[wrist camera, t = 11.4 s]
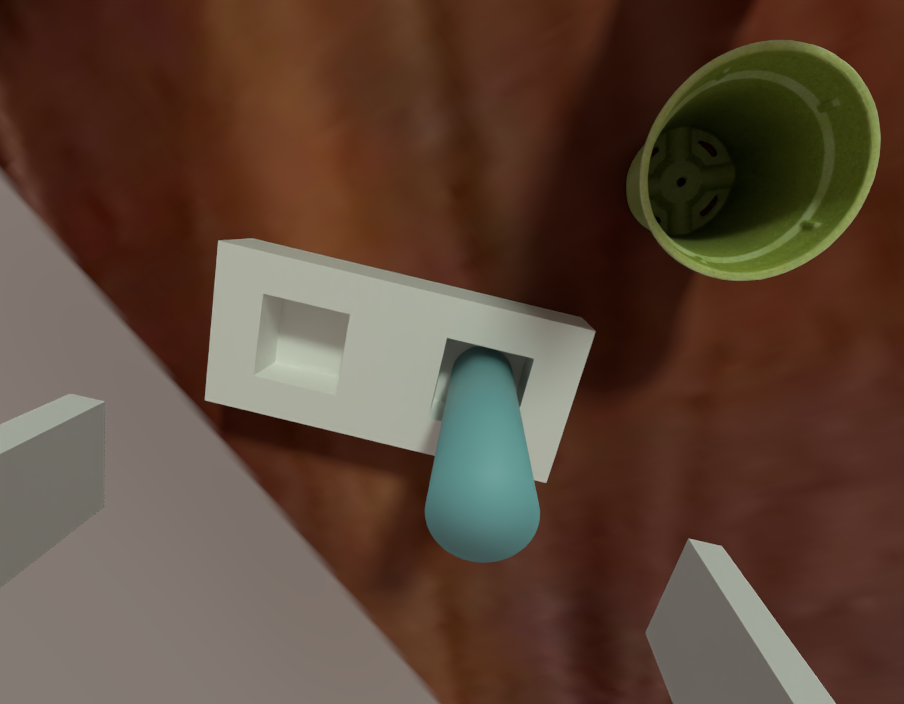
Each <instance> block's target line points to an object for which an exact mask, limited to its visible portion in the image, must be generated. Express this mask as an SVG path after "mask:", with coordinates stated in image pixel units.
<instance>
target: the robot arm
mask: <svg viewBox="0 0 904 704" xmlns="http://www.w3.org/2000/svg"><path fill="white" fill-rule="evenodd" d="M104 438H105V402H104V401H100V400H96V399H92V398H87V397H83V396H78V395H74V394H68V395H66V396H64V397H61V398H59V399H57V400H55V401H52V402H50V403H48V404H45V405H43V406H41V407H39V408H36V409H34V410H32V411H29V412H27V413H25V414H23V415H21V416H18V417H16V418H14V419H11V420H9V421H7V422H4V423H2V424H0V588H1V587H2V586H4V585H5V584H6V583H7V582H9V581H10V580H11V579H12V578H14V577H15V576H16V575H18V574H19V573H20V572H21V571H23V570H24V569H25V568H26V567H28V566H29V565H30V564H32V563H33V562H34V561H36V560H37V559H38V558H39V557H40V556H42V555H43V554H45V553H46V552H47V551H48V550H50V549H51V548H52V547H54V546H55V545H56V544H57V543H59V542H60V541H61V540H62V539H64V538H65V537H66V536H68V535H69V534H70V533H71V532H73V531H74V530H75V529H77V528H78V527H79V526H80V525H82V524H83V523H84V522H85V521H87V520H88V519H89V518H91V517H92V516H93V515H95V514H96V513H97V512H98V511H99V510H101V509H102V508H103V507H104V444H105V439H104ZM646 636H647V638H648V641H649V644H650V646H651V649H652V651H653V654H654V656H655V659H656V661H657V664H658V666H659V669H660V672H661V674H662V677H663V679H664V682H665V684H666V687H667V689H668V692H669V695H670V697H671V700H672V702H673V704H836V703H835V702H834V700H833V699H832V698H831V696H830V695H829V693H828V692H827V691H826V689H825V688H824V687H823V685H822V684H821V682H820V681H819V680H818V678H817V677H816V675H815V674H814V673H813V671H812V670H811V669H810V667H809V666H808V664H807V663H806V662H805V660H804V659H803V658H802V656H801V655H800V653H799V652H798V651H797V649H796V648H795V646H794V645H793V644H792V642H791V641H790V640H789V638H788V637H787V635H786V634H785V633H784V631H783V630H782V628H781V627H780V626H779V624H778V623H777V622H776V620H775V619H774V617H773V616H772V615H771V613H770V612H769V611H768V609H767V608H766V606H765V605H764V604H763V602H762V601H761V599H760V598H759V597H758V595H757V594H756V593H755V591H754V590H753V588H752V587H751V586H750V584H749V583H748V581H747V580H746V579H745V577H744V576H743V575H742V573H741V572H740V570H739V569H738V568H737V566H736V565H735V564H734V562H733V561H732V559H731V558H730V557H729V555H728V554H727V552H726V551H725V550H724V548H723V547H722V546H719V545H714V544H710V543H706V542H702V541H697V540H693V539H689V538H688V540H687V543H686V545H685V547H684V549H683V551H682V554H681V556H680V558H679V560H678V562H677V565H676V567H675V569H674V571H673V573H672V576H671V578H670V580H669V582H668V584H667V586H666V589H665V591H664V593H663V595H662V597H661V600H660V602H659V604H658V606H657V608H656V611H655V613H654V615H653V617H652V619H651V622H650V624H649V626H648V628H647V630H646Z"/></svg>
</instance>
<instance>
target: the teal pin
mask: <svg viewBox="0 0 904 704" xmlns="http://www.w3.org/2000/svg"><path fill="white" fill-rule="evenodd" d="M425 519H426V523H427V527H428V529H429V531H430V533H431V535H432V536H433V538H434V539H435V540H436V542H437V543H438V544H439V545H440V546H441V547H442V548H443V549H445V550H446V551H447V552H449V553H451V554H452V555H454V556H456V557H459V558H461V559H464V560H468V561H473V562H495V561H500V560H503V559H506V558H509V557H511V556H513V555H515V554H517V553H518V552H519V551H521V550H522V549H523V548H524V547H525V546H527V545H528V543H529V542H530V541H531V540H532V538H533V536H534V535H535V533H536V530H537V528H538V524H539V519H540V508H539V503H538V498H537V493H536V488H535V483H534V478H533V473H532V468H531V463H530V458H529V453H528V448H527V443H526V438H525V433H524V428H523V423H522V418H521V413H520V408H519V403H518V398H517V393H516V388H515V383H514V378H513V373H512V368H511V365H510V363H509V361H508V359H507V358H506V357H505V356H504V354H502V353H501V352H500V351H498V350H496V349H491V348H487V347H483V346H477V347H472V348H470V349H468V350H466V351H464V352H463V353H462V354H460V355H459V356H458V358H457V359H456V361H455V362H454V365H453V368H452V372H451V377H450V382H449V387H448V392H447V398H446V403H445V408H444V413H443V418H442V423H441V428H440V433H439V438H438V443H437V448H436V453H435V458H434V463H433V468H432V473H431V479H430V484H429V489H428V494H427V499H426V504H425Z"/></svg>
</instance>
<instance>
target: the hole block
mask: <svg viewBox="0 0 904 704" xmlns="http://www.w3.org/2000/svg"><path fill="white" fill-rule="evenodd" d="M595 332H596V331H595V330H594V329H593V328H592V327H591V326H590V325H589V324H588V323H587V322H586V321H585V320H584V319H583V318H582V317H578V316H574V315H570V314H566V313H562V312H557V311H553V310H549V309H545V308H541V307H537V306H532V305H528V304H524V303H520V302H516V301H512V300H507V299H503V298H499V297H495V296H491V295H487V294H482V293H478V292H474V291H470V290H466V289H462V288H457V287H453V286H449V285H445V284H441V283H437V282H432V281H428V280H424V279H420V278H416V277H412V276H407V275H403V274H399V273H395V272H391V271H387V270H382V269H378V268H374V267H370V266H366V265H362V264H357V263H353V262H349V261H345V260H341V259H337V258H332V257H328V256H324V255H320V254H316V253H312V252H307V251H303V250H299V249H295V248H291V247H287V246H282V245H278V244H274V243H270V242H266V241H262V240H257V239H253V238H249V239H234V240H220V241H218V250H217V262H216V274H215V286H214V297H213V309H212V321H211V333H210V345H209V357H208V368H207V380H206V392H205V400H206V401H210V402H214V403H218V404H223V405H227V406H231V407H235V408H239V409H243V410H247V411H251V412H256V413H260V414H264V415H268V416H272V417H276V418H280V419H284V420H289V421H293V422H297V423H301V424H305V425H309V426H313V427H317V428H322V429H326V430H330V431H334V432H338V433H342V434H346V435H350V436H355V437H359V438H363V439H367V440H371V441H375V442H379V443H383V444H388V445H392V446H396V447H400V448H404V449H408V450H412V451H417V452H421V453H425V454H429V455H433V456H435V453H436V448H437V443H438V438H439V433H440V428H441V423H442V418H443V413H444V408H445V403H446V398H447V392H448V387H449V382H450V377H451V372H452V368H453V365H454V362H455V361H456V359H457V358H458V356H459V355H460V354H462V353H463V352H464V351H466V350H468V349H470V348H472V347H477V346H483V347H487V348H491V349H496V350H498V351H500V352H501V353H502V354H504V356H505V357H506V358H507V359H508V361H509V363H510V365H511V368H512V373H513V378H514V383H515V388H516V393H517V398H518V403H519V408H520V413H521V418H522V423H523V428H524V433H525V438H526V443H527V448H528V453H529V458H530V463H531V468H532V473H533V478H534V480H536V481H540V482H544V483H546V482H547V479H548V476H549V473H550V470H551V467H552V464H553V461H554V458H555V455H556V452H557V449H558V446H559V443H560V439H561V436H562V433H563V430H564V427H565V424H566V421H567V418H568V415H569V412H570V409H571V406H572V403H573V400H574V397H575V394H576V390H577V387H578V384H579V381H580V378H581V375H582V372H583V369H584V366H585V363H586V360H587V357H588V354H589V351H590V348H591V344H592V341H593V338H594V335H595Z"/></svg>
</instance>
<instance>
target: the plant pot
mask: <svg viewBox="0 0 904 704" xmlns="http://www.w3.org/2000/svg"><path fill="white" fill-rule="evenodd" d="M698 141H705V142H707V143H709V144H711V145H712V146H713V147H714V149H715V150H716V153H717V155H716V156H715V157H712V156H711V155H710V153H709V152H708V151H707V150H706V149H705V148H704V147H702V146H701V144H698ZM653 148H658V152H657V153H656V154H655V155H654V156H653V157H652V158H651V153H652V150H653ZM879 155H880V127H879V119H878V114H877V110H876V107H875V103H874V101H873V98H872V96H871V94H870V92H869V90H868V88H867V87H866V85H865V83H864V82H863V80H862V79H861V77H860V76H859V75H858V73H857V72H856V71H855V70H854V69H853V68H852V67H851V66H850V65H849V64H848V63H846V62H845V61H843V60H842V59H840V58H839V57H838V56H836V55H835V54H833V53H832V52H829V51H828V50H825V49H823V48H821V47H818V46H815V45H812V44H807V43H803V42H797V41H791V40H771V41H763V42H757V43H753V44H749V45H745V46H742V47H739V48H736V49H734V50H731V51H729V52H727V53H725V54H723V55H721V56H719V57H717V58H715V59H713V60H712V61H710V62H708V63H707V64H705V65H704V66H703V67H701V68H700V69H699V70H697V71H696V72H695V73H694V74H692V75H691V76H690V77H689V78H688V79H687V80H686V81H685V82H684V83H682V85H681V86H680V87H679V88H678V89H677V90H676V91H675V92H674V93H673V95H672V96H671V97H670V98H669V99H668V101H667V102H666V104H665V105H664V106H663V108H662V109H661V111H660V113H659V114H658V116H657V118H656V119H655V121H654V123H653V125H652V127H651V130H650V132H649V134H648V137H647V139H646V142H645V145H644V146H643V147H642V148H641V149H640V150H639V152H638V153H637V154H636V156H635V158H634V159H633V161H632V163H631V166H630V168H629V171H628V174H627V181H626V194H627V202H628V205H629V208H630V210H631V212H632V214H633V215H634V217H635V218H636V220H637V221H638V222H639V223H640V224H641V225H642V226H644V227H645V228H646V229H648V230H650V231H651V233H652V234H653V236H654V238H655V239H656V240H657V242H658V243H659V245H660V246H661V247H662V248H663V249H664V250H665V251H666V252H667V253H668V254H669V255H670V256H671V257H672V258H674V259H675V260H676V261H677V262H679V263H681V264H682V265H684V266H686V267H687V268H689V269H691V270H693V271H696V272H698V273H701V274H703V275H706V276H709V277H713V278H717V279H722V280H731V281H749V280H760V279H765V278H769V277H773V276H777V275H780V274H783V273H786V272H788V271H790V270H793V269H795V268H797V267H799V266H801V265H803V264H804V263H806V262H808V261H809V260H811V259H813V258H814V257H816V256H817V255H819V254H820V253H821V252H823V251H824V250H825V249H827V248H828V247H829V246H830V245H831V244H832V243H833V242H834V241H835V240H836V239H837V238H838V237H839V236H840V235H841V234H842V233H843V232H844V231H845V229H846V228H847V227H848V226H849V225H850V224H851V222H852V221H853V219H854V218H855V217H856V215H857V214H858V212H859V210H860V208H861V207H862V205H863V203H864V201H865V199H866V197H867V195H868V193H869V190H870V188H871V185H872V183H873V180H874V177H875V174H876V169H877V165H878V160H879ZM650 158H651V159H650ZM679 178H684V179H685V181H686V182H685V184H684V185H683V186H681V187H679V186H678V185H677V180H679ZM715 196H717V199H718V201H717V202H716V204H715V205H714V207H713V208H712V209H711V210H710V212H709V213H707V214H706V215H703V216H701V215H700V212H701V211H702V210H703V209H705V207H707V206H708V205H709V204H710V202H711V201H712V199H713V198H714V197H715ZM654 215H655V216H656V217H658V218H660V219H661V222H660V223H657V221H656V219H655V217H654Z"/></svg>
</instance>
